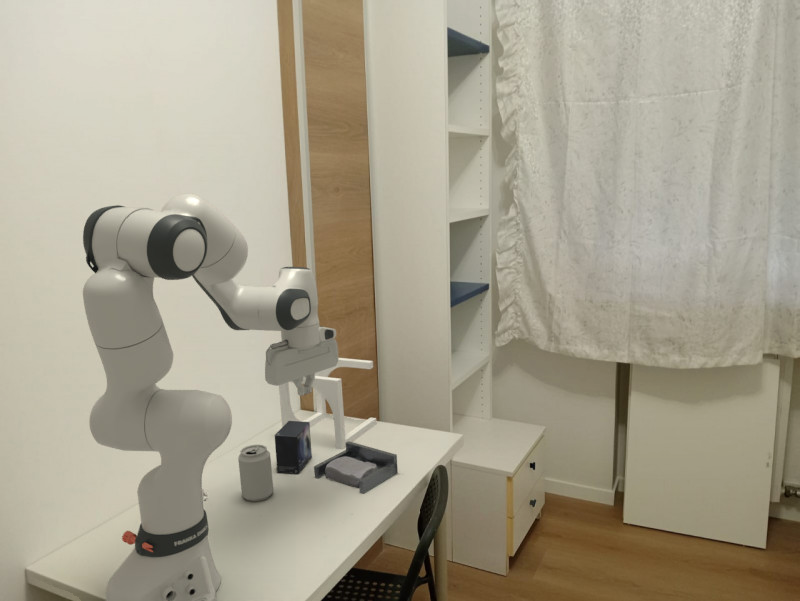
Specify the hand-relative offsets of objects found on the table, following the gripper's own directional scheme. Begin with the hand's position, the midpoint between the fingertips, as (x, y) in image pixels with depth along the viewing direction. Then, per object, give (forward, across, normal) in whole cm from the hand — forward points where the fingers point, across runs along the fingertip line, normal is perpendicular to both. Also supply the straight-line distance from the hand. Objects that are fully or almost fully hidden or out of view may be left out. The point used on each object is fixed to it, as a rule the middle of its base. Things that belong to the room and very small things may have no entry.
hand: (304, 393), depth 159 cm
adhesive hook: (+26, -14, +22) cm, 37 cm away
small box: (+25, +10, +16) cm, 32 cm away
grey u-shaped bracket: (+25, +14, -2) cm, 29 cm away
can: (+26, -7, +11) cm, 29 cm away
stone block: (+26, +14, -1) cm, 29 cm away
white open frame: (+25, +32, +25) cm, 47 cm away
